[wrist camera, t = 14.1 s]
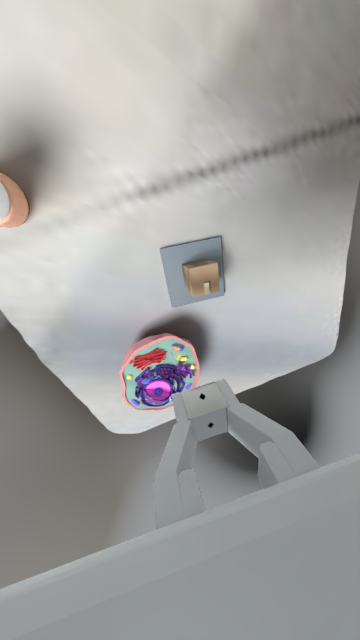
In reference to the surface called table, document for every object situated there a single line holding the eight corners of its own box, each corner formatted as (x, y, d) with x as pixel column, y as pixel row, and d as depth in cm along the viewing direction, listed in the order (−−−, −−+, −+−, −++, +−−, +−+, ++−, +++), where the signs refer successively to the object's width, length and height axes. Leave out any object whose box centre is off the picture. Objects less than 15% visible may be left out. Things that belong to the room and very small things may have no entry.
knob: (181, 264, 34) (190, 269, 28) (205, 259, 34) (219, 263, 28) (185, 288, 36) (194, 298, 30) (207, 283, 36) (221, 291, 30)
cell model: (203, 330, 43) (222, 357, 33) (173, 389, 49) (182, 427, 39) (137, 309, 37) (135, 335, 27) (112, 379, 43) (104, 421, 33)
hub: (159, 248, 33) (162, 250, 28) (218, 236, 34) (231, 236, 29) (171, 305, 38) (176, 315, 33) (222, 293, 39) (233, 301, 34)
